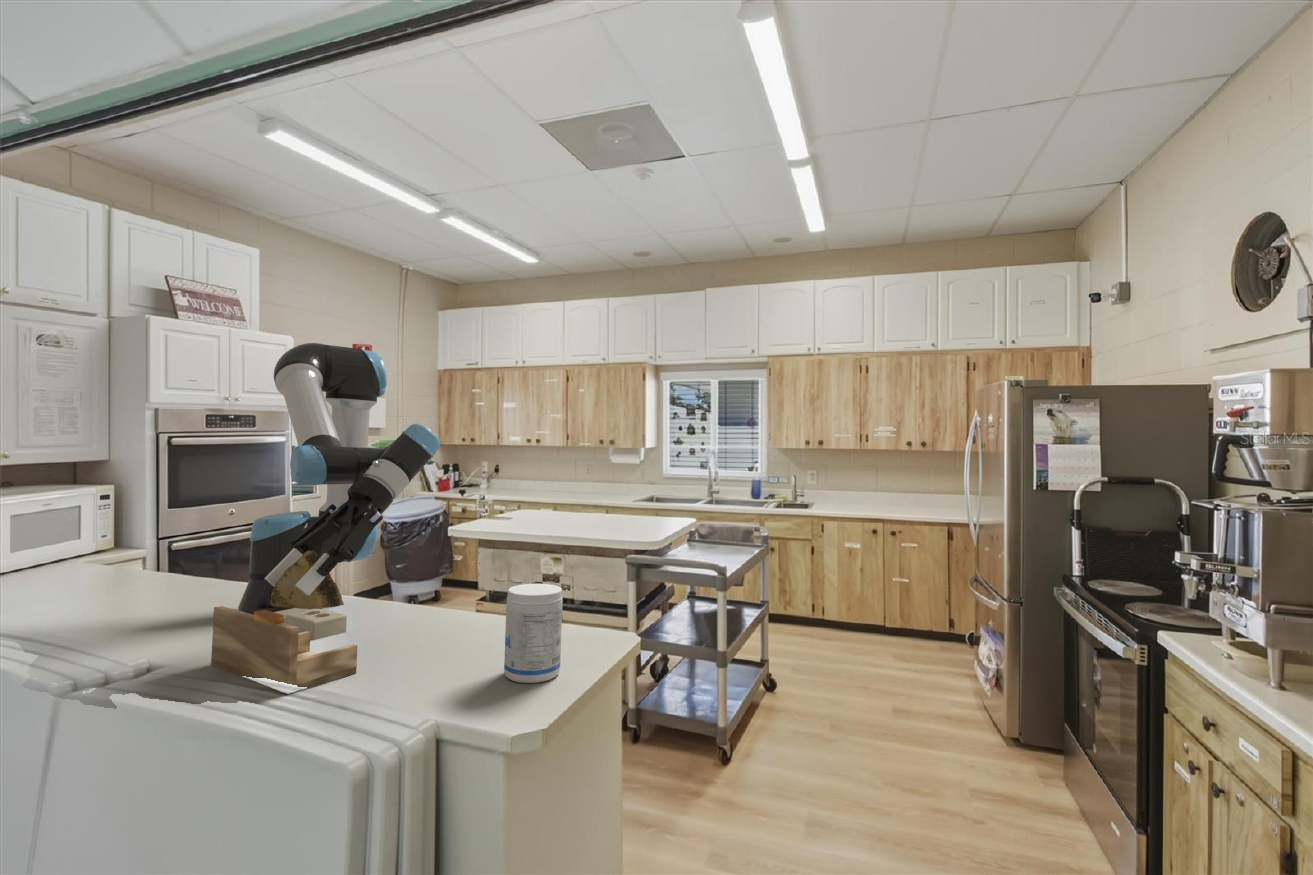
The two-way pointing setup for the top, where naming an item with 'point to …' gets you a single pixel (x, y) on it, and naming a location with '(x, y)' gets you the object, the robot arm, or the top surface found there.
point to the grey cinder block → (316, 621)
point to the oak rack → (274, 650)
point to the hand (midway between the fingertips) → (286, 586)
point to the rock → (295, 598)
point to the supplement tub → (533, 632)
